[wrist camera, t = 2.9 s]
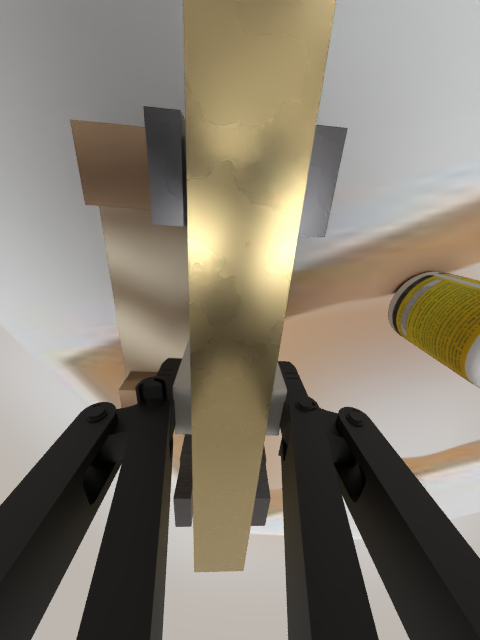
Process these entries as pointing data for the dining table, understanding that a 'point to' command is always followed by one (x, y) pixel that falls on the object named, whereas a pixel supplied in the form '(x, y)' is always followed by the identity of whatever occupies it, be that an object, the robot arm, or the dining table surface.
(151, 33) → the dining table surface
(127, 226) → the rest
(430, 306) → the pill bottle
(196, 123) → the rail
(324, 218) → the rack
